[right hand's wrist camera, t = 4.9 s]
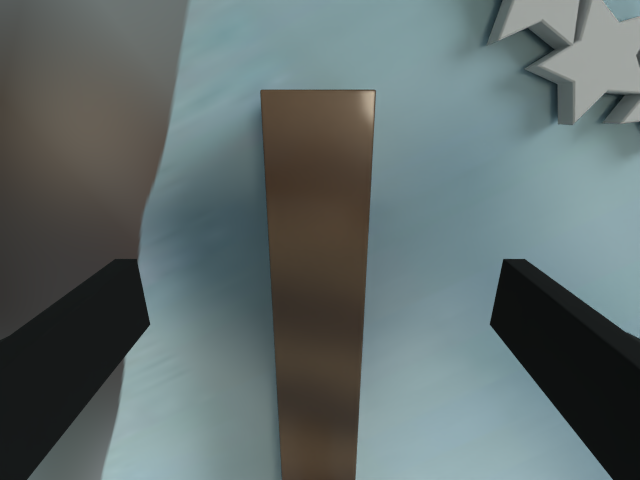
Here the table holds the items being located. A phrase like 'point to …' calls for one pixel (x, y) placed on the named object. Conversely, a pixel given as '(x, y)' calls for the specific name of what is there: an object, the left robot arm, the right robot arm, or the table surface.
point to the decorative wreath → (580, 53)
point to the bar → (318, 270)
